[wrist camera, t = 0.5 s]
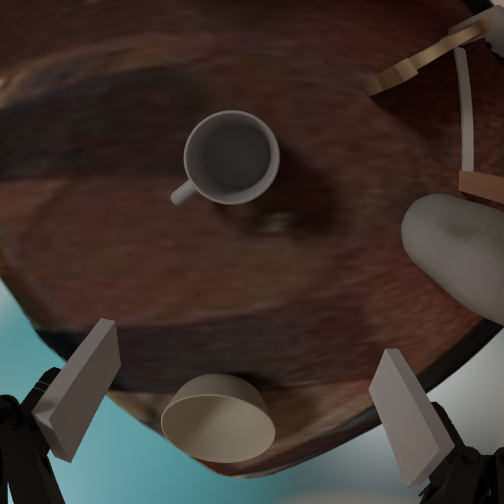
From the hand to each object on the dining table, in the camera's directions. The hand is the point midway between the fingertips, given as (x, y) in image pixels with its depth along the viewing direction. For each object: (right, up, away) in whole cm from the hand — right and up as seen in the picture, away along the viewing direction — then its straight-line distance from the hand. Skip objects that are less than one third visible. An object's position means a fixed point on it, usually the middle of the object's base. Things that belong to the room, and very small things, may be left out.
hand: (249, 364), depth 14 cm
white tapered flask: (+23, +9, +25) cm, 35 cm away
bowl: (-5, -17, +33) cm, 38 cm away
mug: (-3, +16, +23) cm, 28 cm away
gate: (+21, +30, +17) cm, 40 cm away
